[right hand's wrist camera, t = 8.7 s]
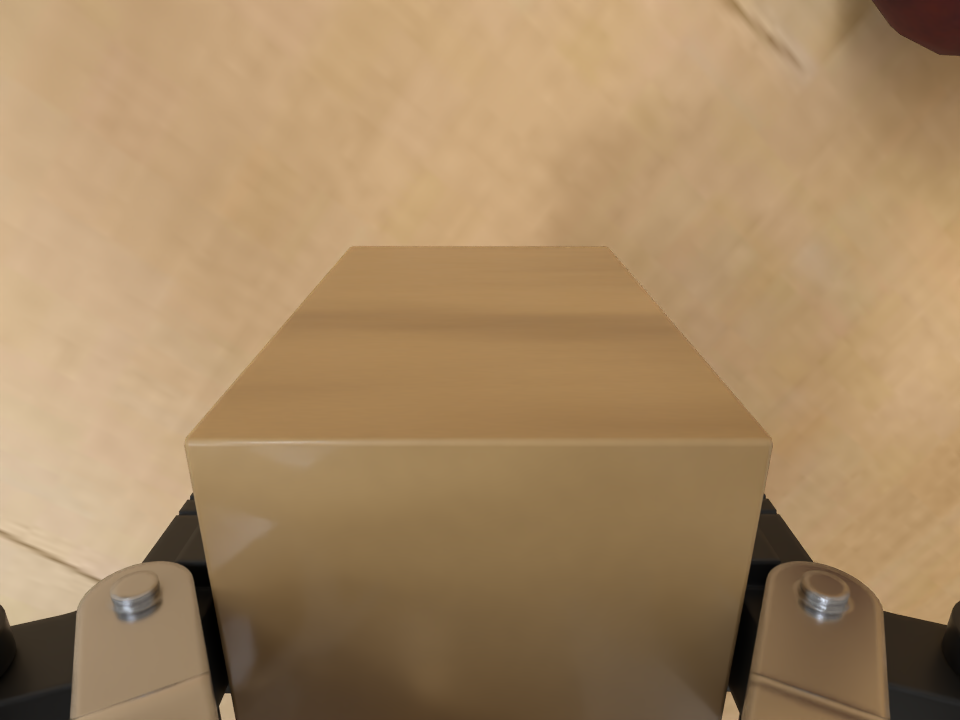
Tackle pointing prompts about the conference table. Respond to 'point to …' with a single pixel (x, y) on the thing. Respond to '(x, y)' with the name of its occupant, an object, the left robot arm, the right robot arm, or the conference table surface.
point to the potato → (925, 22)
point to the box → (478, 498)
